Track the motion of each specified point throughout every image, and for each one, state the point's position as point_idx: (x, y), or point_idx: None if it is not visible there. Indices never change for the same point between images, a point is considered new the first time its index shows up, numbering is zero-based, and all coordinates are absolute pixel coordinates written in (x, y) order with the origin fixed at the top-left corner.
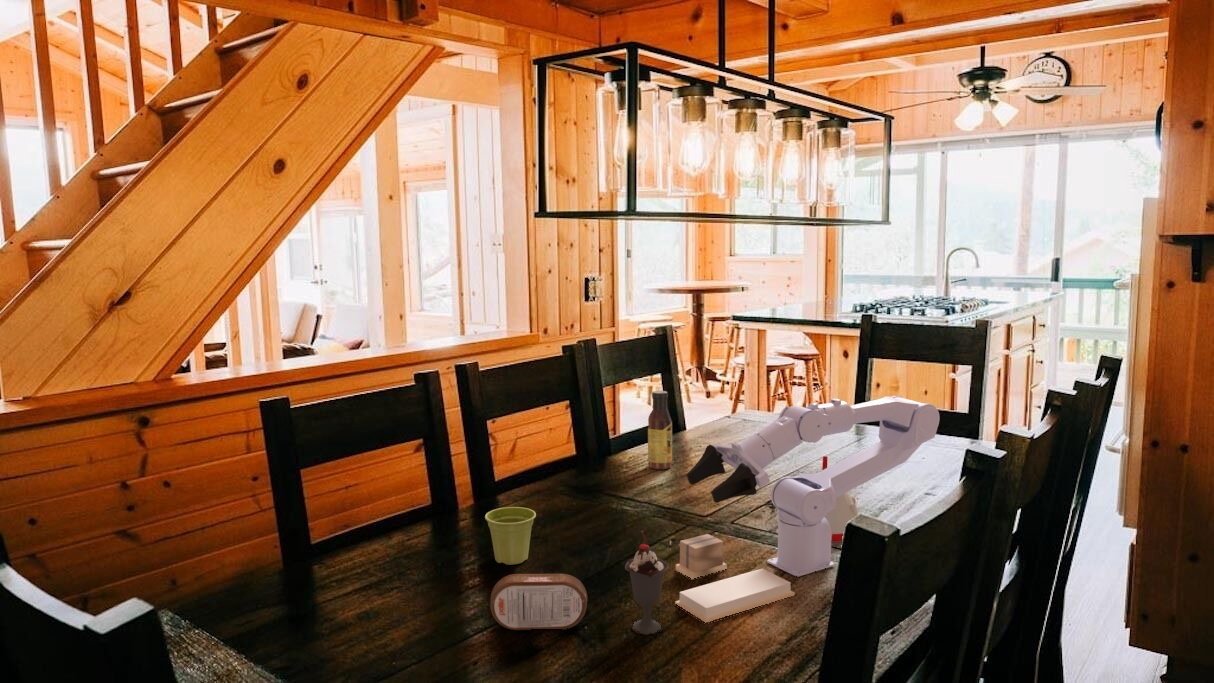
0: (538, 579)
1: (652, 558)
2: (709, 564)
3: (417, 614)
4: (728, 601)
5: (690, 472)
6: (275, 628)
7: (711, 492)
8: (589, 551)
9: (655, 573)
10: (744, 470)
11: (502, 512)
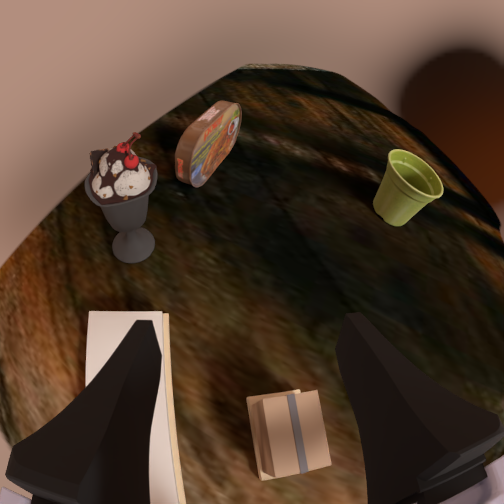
0: (209, 114)
1: (99, 161)
2: (259, 440)
3: (283, 118)
4: (86, 358)
5: (359, 322)
6: (293, 80)
7: (147, 320)
8: (400, 297)
9: (90, 175)
10: (27, 451)
11: (434, 180)
